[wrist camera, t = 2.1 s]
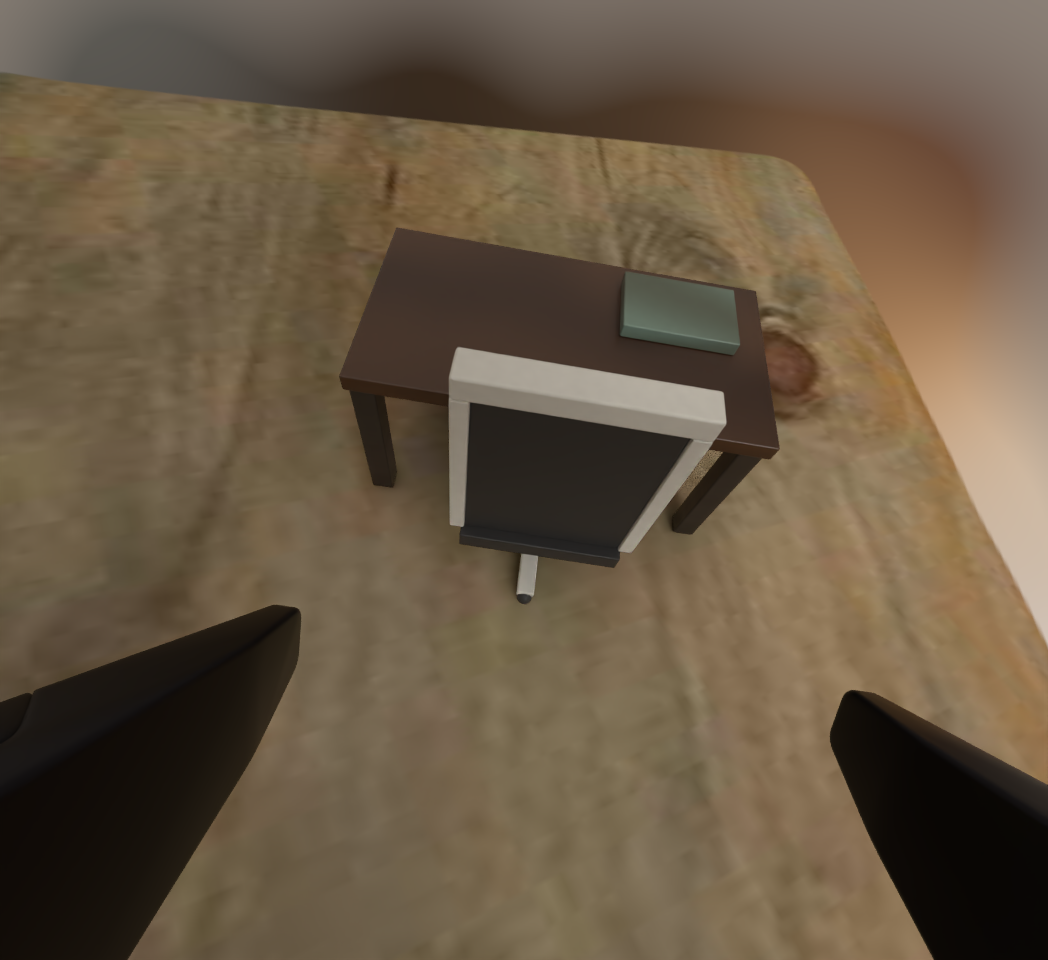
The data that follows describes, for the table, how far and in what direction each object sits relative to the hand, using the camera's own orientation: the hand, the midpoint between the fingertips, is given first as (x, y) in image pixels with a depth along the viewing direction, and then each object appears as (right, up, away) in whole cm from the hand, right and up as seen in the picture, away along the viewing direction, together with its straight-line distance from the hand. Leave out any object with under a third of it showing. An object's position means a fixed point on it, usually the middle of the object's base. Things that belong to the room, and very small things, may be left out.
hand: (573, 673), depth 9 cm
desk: (0, +5, +18) cm, 19 cm away
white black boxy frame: (0, +1, +15) cm, 15 cm away
